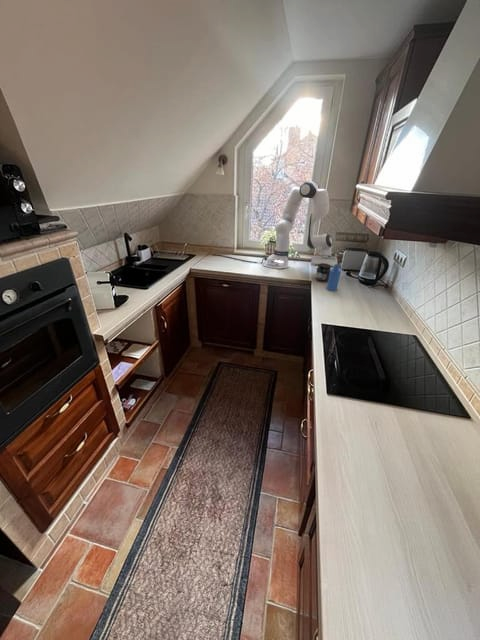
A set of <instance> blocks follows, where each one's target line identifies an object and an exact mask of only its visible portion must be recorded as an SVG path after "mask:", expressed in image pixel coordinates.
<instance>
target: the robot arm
mask: <svg viewBox="0 0 480 640" xmlns="http://www.w3.org/2000/svg"><path fill="white" fill-rule="evenodd" d="M304 198H306V199H312V200H313V201H312V202H313V212H312V214H310V217H309V221H308V234H307V240H306V245H307V247H308V248H309V249H311V250H313V249H319V248H320V251H319V254H313V255H311V261H310V266H313V267H318V264H320V263H325V264H329V265H331V269H334V265H335V264H338V258H337V257H338V255H337V253H334V252H333V251H332V250H333V243H334V242H333V241H334V240H333V237H332V236H331V235H330V234H328V233H323V234H316V235H315V232H316V231H315V230H316V224H317V222H318V221H320V220H322V219H323V218H325V217H326V216H327V215H328V214H329V213H330V197H329V192H328V190H327V189H326V188H320V186H319V183H317V182H316V181H313V180H307V181H304V182H303V183H301V185H300V186H294V187H293V188H292V189H291V190H290V192H289V194H288V197H287V199H286V202H285V205H284V208H283V211H282V217H281V219H280V221H279V222H277V224H276V226H275V235H276V236H275V238H276V244H275V248H274V249H273V251H272V253H271V255H269V256H265V257H264V258H262V259H261V262H260V264H263V267H267V268H272V269H276V270H281V269H287V268H289V266H290V265H289V255H290V232H291V231H292V230H293V227H294V225H295V222H296V218H297V214H298V212H299V209H300V207H301V203H302V201H303V200H304ZM211 256H216V257H217V256H218V257H225V258H229V259H233V260H238V261H242V262H248V263H254V264H258V262H256V261H249V260H245V259H240V258H235V257H232V256H228V255H221V254H213V253H212V254H211Z"/></svg>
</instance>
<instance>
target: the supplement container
mask: <svg viewBox="0 0 480 640" xmlns="http://www.w3.org/2000/svg"><path fill="white" fill-rule="evenodd" d="M331 269H332V267H331V265H329V264H325V263H320V264H318V266H317V267H316V270H315V271H316V272H315V277H314V279H315V281H317V282H321V283H328V280H329V275H330V271H331Z"/></svg>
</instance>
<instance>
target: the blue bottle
mask: <svg viewBox="0 0 480 640" xmlns="http://www.w3.org/2000/svg"><path fill="white" fill-rule="evenodd" d="M340 266H341V265H340V264H338V263H337V264H335V265H334V268H330V269H331V271H330V275H329V280H328V281H327V285H326V290H327V291H330V292H336V291H337V290H338V286H339V282H340V278H341V271H342V270H340Z"/></svg>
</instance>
